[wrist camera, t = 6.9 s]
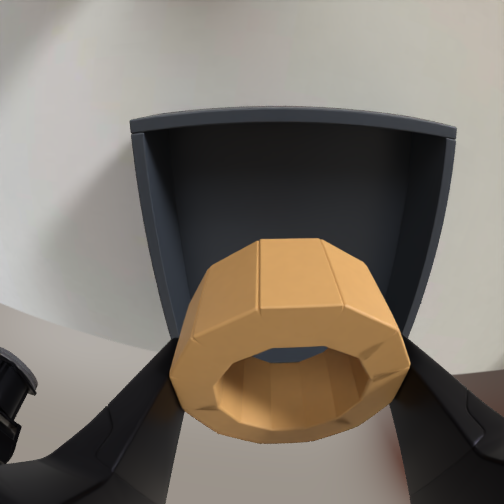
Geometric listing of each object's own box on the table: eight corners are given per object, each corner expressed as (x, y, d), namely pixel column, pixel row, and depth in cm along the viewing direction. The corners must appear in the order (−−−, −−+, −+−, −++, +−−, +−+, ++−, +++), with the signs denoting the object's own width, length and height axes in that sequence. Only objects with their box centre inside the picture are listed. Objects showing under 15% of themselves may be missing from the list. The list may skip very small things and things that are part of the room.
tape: (358, 374, 11) (373, 434, 9) (205, 379, 12) (195, 441, 9) (394, 236, 8) (441, 297, 6) (176, 240, 8) (143, 306, 6)
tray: (382, 317, 21) (399, 357, 17) (189, 323, 21) (178, 365, 17) (417, 117, 14) (457, 127, 10) (159, 113, 14) (128, 120, 11)
